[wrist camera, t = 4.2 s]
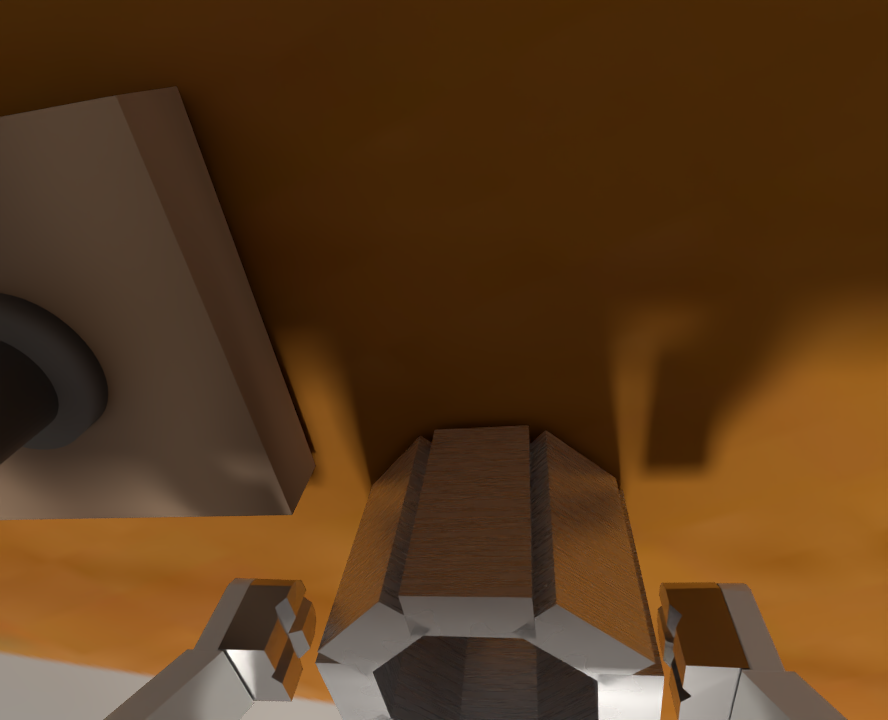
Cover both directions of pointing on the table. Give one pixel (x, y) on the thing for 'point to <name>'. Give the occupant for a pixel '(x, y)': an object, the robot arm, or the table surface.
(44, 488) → the post block
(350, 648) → the steel ring
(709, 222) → the table surface
